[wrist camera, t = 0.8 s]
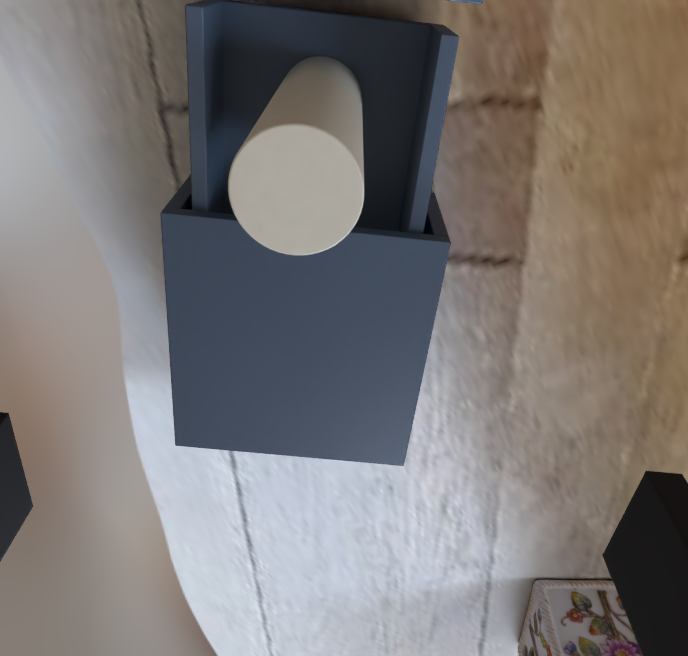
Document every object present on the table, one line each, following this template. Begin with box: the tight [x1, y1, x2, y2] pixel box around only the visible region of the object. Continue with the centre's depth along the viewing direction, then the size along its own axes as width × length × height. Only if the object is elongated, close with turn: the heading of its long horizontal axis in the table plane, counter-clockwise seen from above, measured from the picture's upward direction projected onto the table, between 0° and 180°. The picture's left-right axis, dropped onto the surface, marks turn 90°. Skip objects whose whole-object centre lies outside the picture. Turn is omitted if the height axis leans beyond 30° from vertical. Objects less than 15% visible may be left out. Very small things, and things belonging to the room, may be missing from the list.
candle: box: [228, 56, 364, 255], centre depth 26 cm, size 4×4×15 cm
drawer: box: [185, 0, 483, 234], centre depth 29 cm, size 19×13×6 cm
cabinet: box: [161, 175, 451, 466], centre depth 37 cm, size 16×15×8 cm
